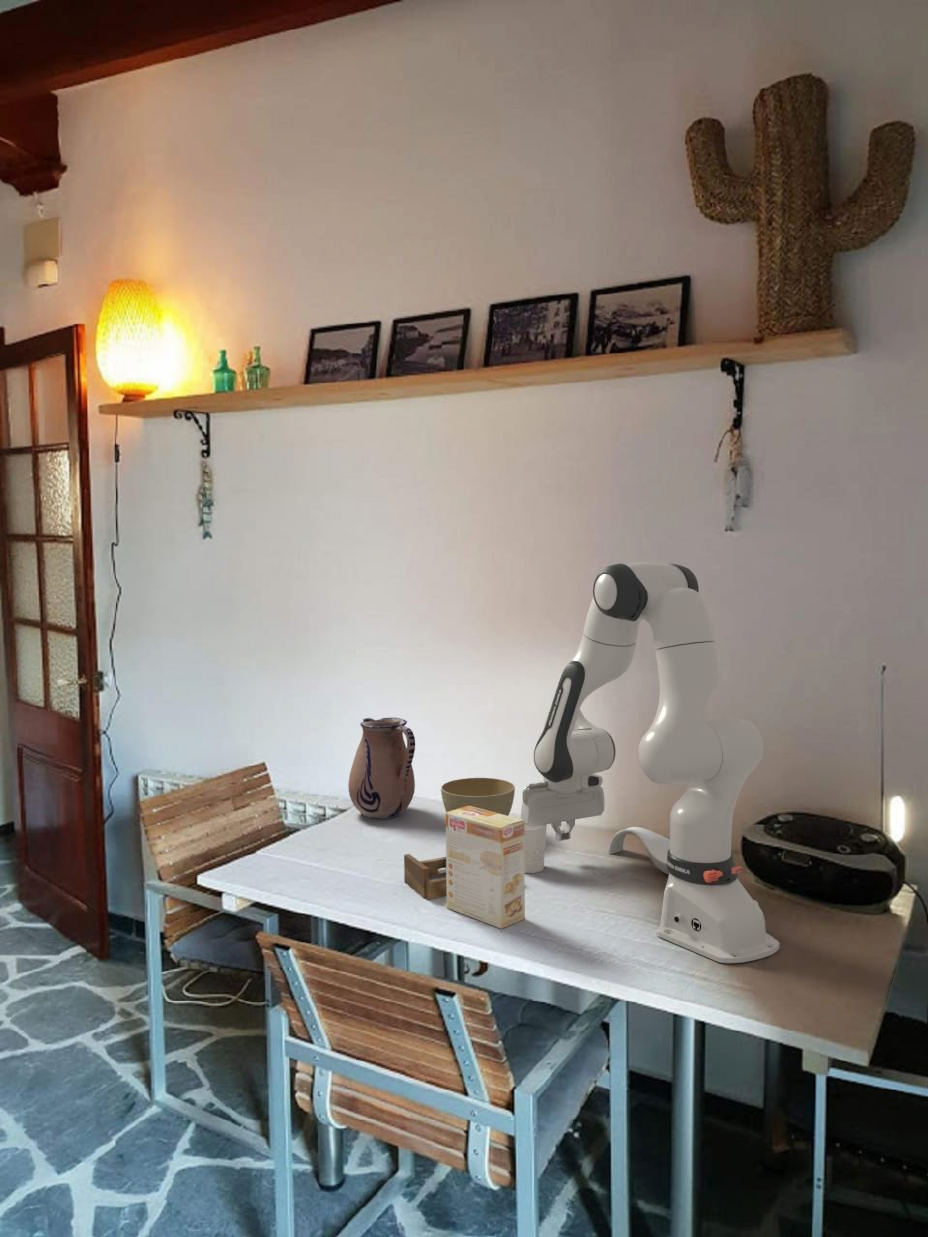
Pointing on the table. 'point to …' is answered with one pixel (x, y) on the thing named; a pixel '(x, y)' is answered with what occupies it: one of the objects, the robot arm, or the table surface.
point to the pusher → (442, 870)
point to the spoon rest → (645, 845)
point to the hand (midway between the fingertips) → (562, 839)
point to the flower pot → (479, 794)
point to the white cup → (534, 848)
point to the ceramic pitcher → (383, 769)
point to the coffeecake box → (485, 865)
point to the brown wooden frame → (425, 876)
